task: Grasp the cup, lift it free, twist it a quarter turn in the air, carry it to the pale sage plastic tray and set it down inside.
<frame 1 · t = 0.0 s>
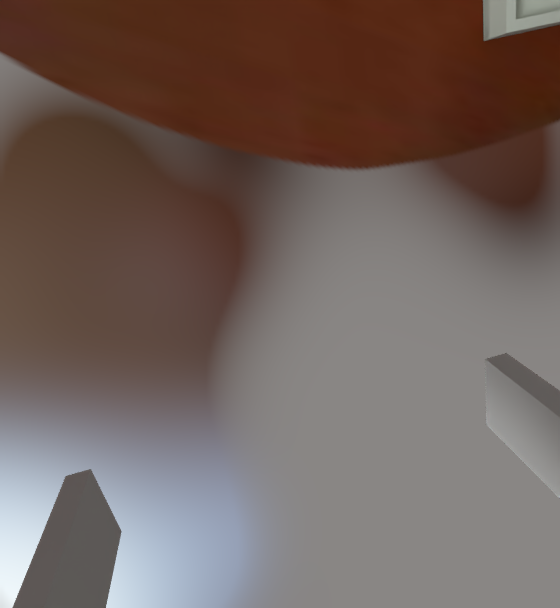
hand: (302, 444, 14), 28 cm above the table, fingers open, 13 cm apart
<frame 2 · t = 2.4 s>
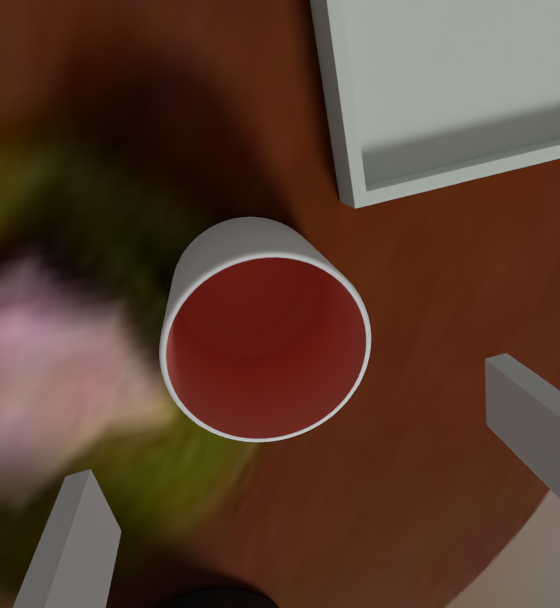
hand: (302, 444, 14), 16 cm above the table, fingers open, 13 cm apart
tray: (459, 20, 25), on the table
cup: (247, 286, 29), on the table
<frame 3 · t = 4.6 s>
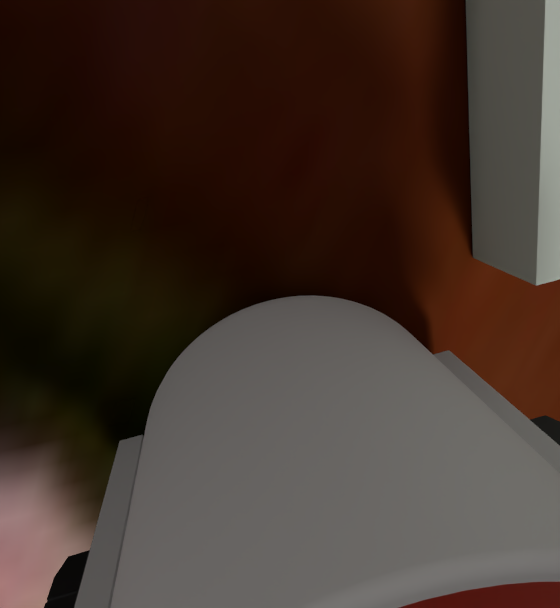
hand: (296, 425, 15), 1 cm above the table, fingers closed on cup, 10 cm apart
cup: (291, 409, 16), on the table, touching gripper
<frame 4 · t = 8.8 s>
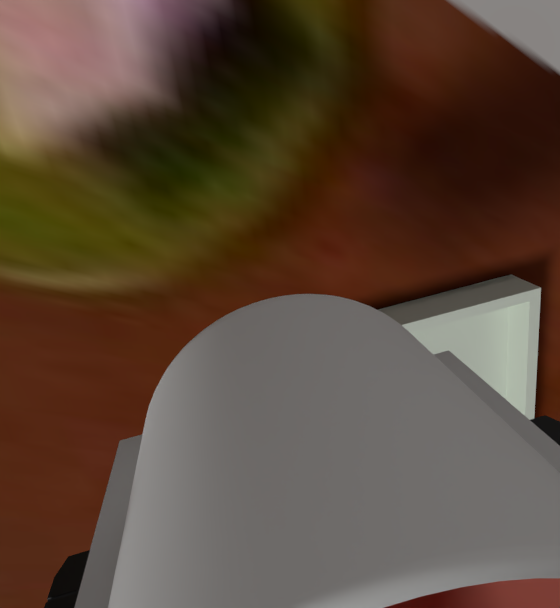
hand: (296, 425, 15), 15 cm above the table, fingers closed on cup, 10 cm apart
tray: (408, 402, 34), on the table
cup: (290, 408, 16), point 14 cm above the table, touching gripper
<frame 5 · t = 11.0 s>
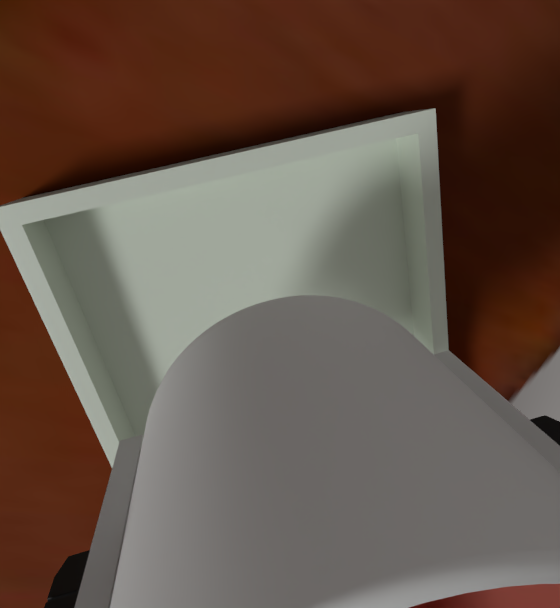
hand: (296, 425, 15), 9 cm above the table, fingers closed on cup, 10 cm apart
tray: (261, 325, 23), on the table
cup: (291, 409, 16), point 8 cm above the table, touching gripper
when the fingers open (4 cm above the table, at t = 12.8 s): cup drops 2 cm, resting on tray.
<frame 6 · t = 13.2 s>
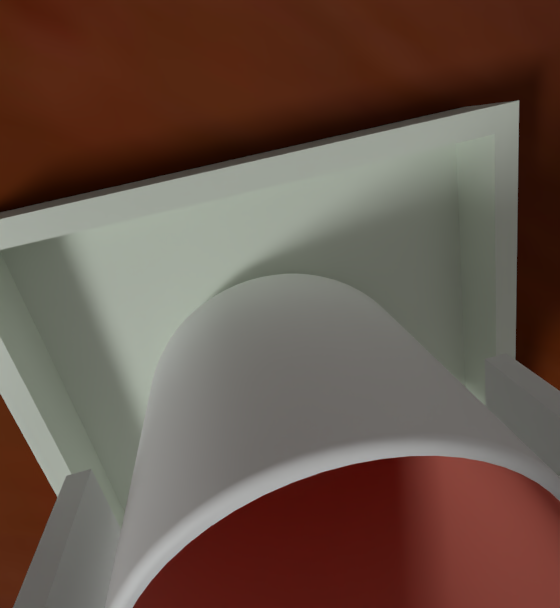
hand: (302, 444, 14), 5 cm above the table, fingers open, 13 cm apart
tray: (279, 372, 18), on the table
cup: (279, 378, 18), point 1 cm above the table, touching tray
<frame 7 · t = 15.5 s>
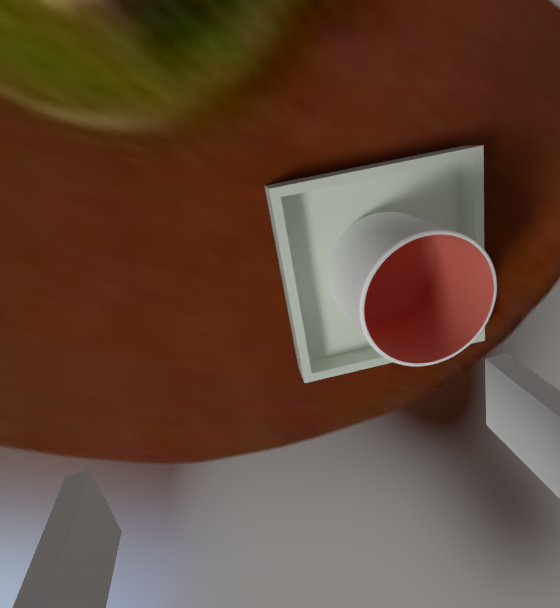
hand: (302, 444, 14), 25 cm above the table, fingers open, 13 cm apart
tray: (375, 263, 39), on the table
cup: (377, 264, 39), point 1 cm above the table, touching tray
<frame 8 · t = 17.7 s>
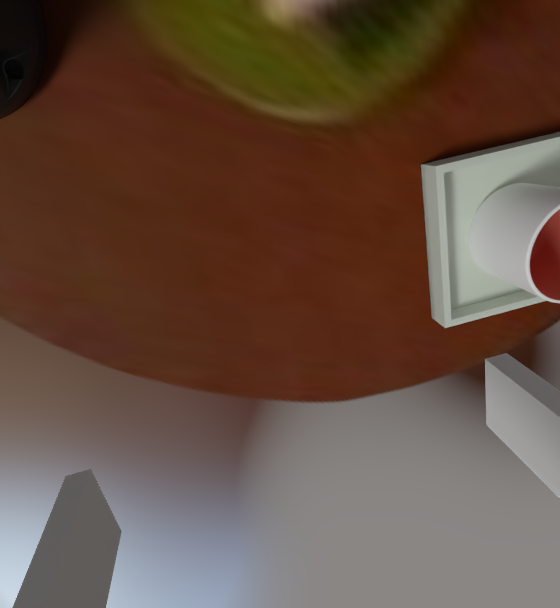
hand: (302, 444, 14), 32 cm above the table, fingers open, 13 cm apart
tray: (500, 227, 48), on the table
cup: (503, 228, 47), point 1 cm above the table, touching tray
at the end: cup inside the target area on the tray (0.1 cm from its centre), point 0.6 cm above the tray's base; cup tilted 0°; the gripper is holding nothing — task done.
